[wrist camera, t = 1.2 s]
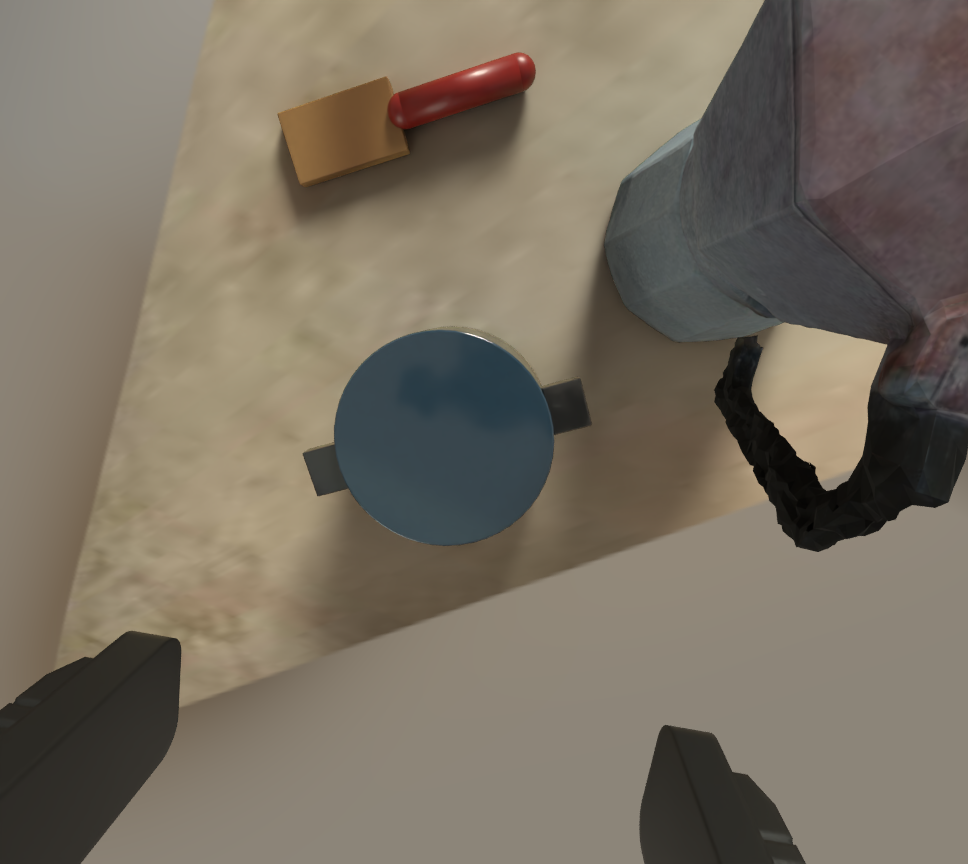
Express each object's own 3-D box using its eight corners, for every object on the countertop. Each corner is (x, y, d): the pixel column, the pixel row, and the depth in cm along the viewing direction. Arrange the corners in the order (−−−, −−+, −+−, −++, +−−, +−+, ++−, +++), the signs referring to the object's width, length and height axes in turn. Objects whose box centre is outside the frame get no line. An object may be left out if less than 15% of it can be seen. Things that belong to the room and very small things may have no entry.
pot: (308, 364, 28) (268, 374, 23) (552, 293, 26) (559, 290, 22) (365, 536, 29) (339, 576, 25) (599, 477, 28) (614, 509, 24)
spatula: (305, 187, 26) (293, 181, 25) (283, 118, 26) (269, 107, 24) (543, 111, 25) (544, 99, 24) (525, 36, 24) (525, 19, 23)
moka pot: (877, 85, 24) (2440, -884, 4) (756, 439, 27) (1354, 769, 8) (651, 33, 24) (1220, -1139, 5) (558, 393, 27) (658, 604, 8)
